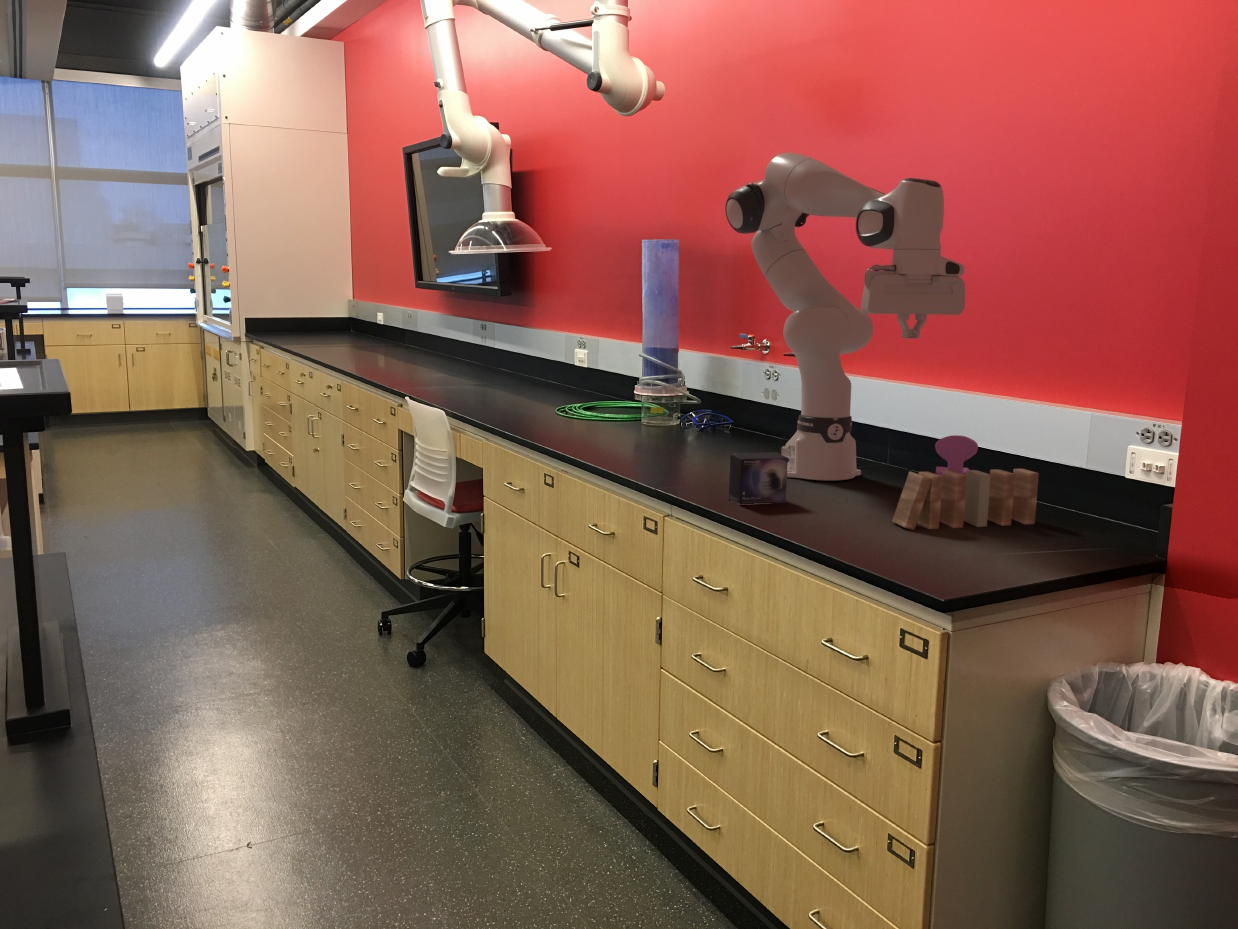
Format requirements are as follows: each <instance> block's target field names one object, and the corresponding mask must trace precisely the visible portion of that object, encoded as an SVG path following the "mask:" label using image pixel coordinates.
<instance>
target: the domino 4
mask: <svg viewBox="0 0 1238 929" xmlns="http://www.w3.org/2000/svg"><path fill="white" fill-rule="evenodd" d="M966 475H967V478H966V493H965V507H964V522H965V523H968V524H970V525H972V526H975V527H977V528H980V527H981V528H982V527H987V526H988V520H987V517H988V503H989V490H990V476H991V475H990V473H986V472H983V471H981V470H977V469H969V470H966Z"/></svg>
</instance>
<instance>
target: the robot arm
mask: <svg viewBox="0 0 1238 929" xmlns="http://www.w3.org/2000/svg"><path fill="white" fill-rule="evenodd" d="M944 196H945V194H944V191H943V187H942V185H941V184H940V183H939V182H938V181H935V180H931V179H922V178H915V177H907V178H904V179H902V180H900V181H899V183H898V185H897V186H896V187H895V188H894V189H892V190H891V191H889V192H887V193H884V192H881V191H879V190H877V189H874V188H873V187H872V188H871V187H869V186H868V185H865V184H863V183H861V182H859V181H858V180H855V179H853V178H852V177H849V176H848V175H847V174H846V175H845V174H844V173H842V172H841V171H839V170H837V169H835V168H833V167H832V166H829V165H827V164H825V163H824V162H822V161H820V160H817V159H816V158H812V157H811V156H808V155H807V156H806V155H804V154H798V153H793V152H782V153H779V154H777V155H776V156H774V157H773V158H772V159H771V160H770V161H769V162H768V164H767V166H766V169H765V172H764V178H763V179H762V180H759V181H755V182H749V183H747V184H745V185H742V186H740V187H738V188H737V189H735V190H733V191H732V192H731V193H730V194H729V195H728V197H727V200H726V202H725V207H724V208H725V210H724V211H725V217H726V219H727V220H726V221H727V222H728V224H729V226H730V227H731V228H732V229H733V231H734V232H736V233H738V234H743V235H745V234H746V235H747V234H754V235H753V237H752V239H751V250H752V253H753V257H754V260H755V261H756V263H757V265H758V268H759V270H760V271H761V274H762V275H763V276H764V278H765V279H766V281H767V282H768V284H769V286H770V287H771V289H772V290H773V292H774V294H775V295H776V296H777V298H778V299H779V301H780V303H781V304H782V305H783V306H784V308H786V309H788V310H790V311H792V313H790V314H789V316H788V317H787V318H786V320H785V322H784V326H783V330H782V331H783V332H782V334H783V339H784V342H785V344H786V346H787V347H788V349H790V350H791V351H792V353H793V354H794V357H795V360H796V362H797V364H798V365H797V366H798V369H799V373H800V374H799V375H800V379H801V412H800V414H799V415H798V420H797V426H796V431H795V433H794V434H793V436H792V437H791V438H790V439H789V440H788V441H787V442H786V443H785V445H784V446H781V449H780V450H781V452H780V454H781V455H783V456H786V457H788V467H787V478H793V479H794V478H796V479H797V478H798V479H805V480H811V481H813V480H814V481H815V480H816V481H844V480H850V479H854V478H855V477H857V476H861V475H862V471H861V470H860V469H858V468H857V445H856V443H857V442H856V439H855V438H854V437H853V436H852V435H851V432H852V426H853V420H852V417H853V416H851V402H852V382H851V380H850V378H849V377H848V375H847V374H846V373H845V371H844V369H843V365H842V361H841V355H845V354H846V355H848V354H852V353H854V352H857V351H859V350H861V349H863V348H865V347H866V346H867V345H868V344H869V343H870V341H871V340H872V337H873V333H874V324H873V321H872V318H871V317H870V315H869V314H871V315H897V318H896V319H897V322H898V324H899V326H900V328H901V329H902V330H901V338H902V339H920V338H921V330H922V328H923V327H924V325H925V324H926V323H927V320H928V315H930V316H931V315H941V316H944V315H947V316H951V315H952V316H957V315H958V316H959V315H961V314H962V313H963V312H964V310H965V306H966V283H965V280H964V279H963V278H962V277H961V276H963V275H964V273H965V265H964V264H962V263H959V262H957V261H954V260H951V259H949V258H947V257H945V256H943V255H942V244H941V234H942V233H941V232H942V230H943V228H944V216H945V198H944ZM810 215H811V216H815V217H830V218H831V217H832V218H835V217H836V218H838V217H839V218H840V217H841V218H855V233H856V235H857V239H858V240H859V242H860V243H861V244H862V245H863V246H865V247H869V248H872V249H881V250H892V260H891V261H892V262H891V263H892V264H884V265H882V264H881V265H880V264H873V265H872V266H870V267H868V268H867V269H866V271H865V272H864V277H863V279H864V280H863V283H864V288H863V292H862V297H861V307H860V308H861V309H860V308H859V307H857V306H855V304H853V303H852V302H851V301H849V300H848V299H847V298H846V297H845V296H844V295H843V294H842V293H841V292H840V291H839V290H838V289H837V288H835V286H833V285H832V283H830V282H829V280H827V279H826V277H825V276H824V275H823V273H822V272H821V271H820V269H819V268H818V267H817V265H816V264H815V263H814V261H813V259H812V258H811V256H810V255H809V254H808V252H807V251H806V249H805V247H804V246H803V244H801V242H800V241H799V240H798V237H797V236H796V231H795V230H796V229H795V228H802V227H803V226H805V225H806V223H807V218H808V217H810ZM910 315H914V320H915V321H916V322H915V324H914V326H913V328H910V326H909V324H908V321H909V320H910Z"/></svg>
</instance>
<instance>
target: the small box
mask: <svg viewBox="0 0 1238 929" xmlns="http://www.w3.org/2000/svg"><path fill="white" fill-rule="evenodd" d="M729 458H730V459H729V460H730V462H729V480H728V481H729V482H728V498H730V499H732V500H733V501H735V502H737V503H740V504H754V503H785V504H786V503H787V502H786V501H787V485H788V484H787V482H788V477H787V467H788V457H786V456H783V455H782V453H779V452H776V451H767V452H766V451H765V452H742V453H741V452H740V453H737V452H736V453H735V452H733V453H730V454H729Z"/></svg>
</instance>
